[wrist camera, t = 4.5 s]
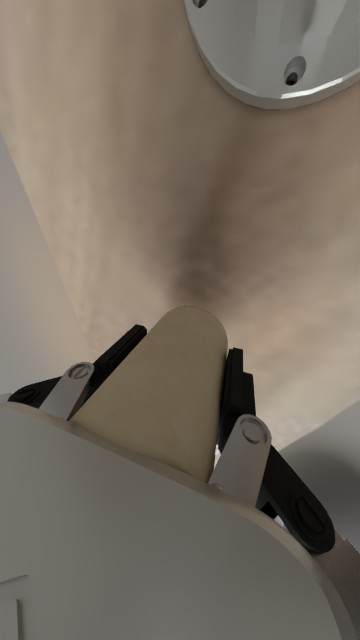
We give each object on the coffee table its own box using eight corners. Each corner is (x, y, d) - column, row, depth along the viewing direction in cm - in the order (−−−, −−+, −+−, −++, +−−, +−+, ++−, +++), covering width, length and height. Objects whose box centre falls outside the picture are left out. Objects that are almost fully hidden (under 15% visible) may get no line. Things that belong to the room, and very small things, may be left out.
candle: (158, 355, 15) (53, 515, 7) (159, 298, 12) (-20, 448, 4) (220, 373, 14) (186, 599, 5) (236, 314, 11) (221, 588, 3)
